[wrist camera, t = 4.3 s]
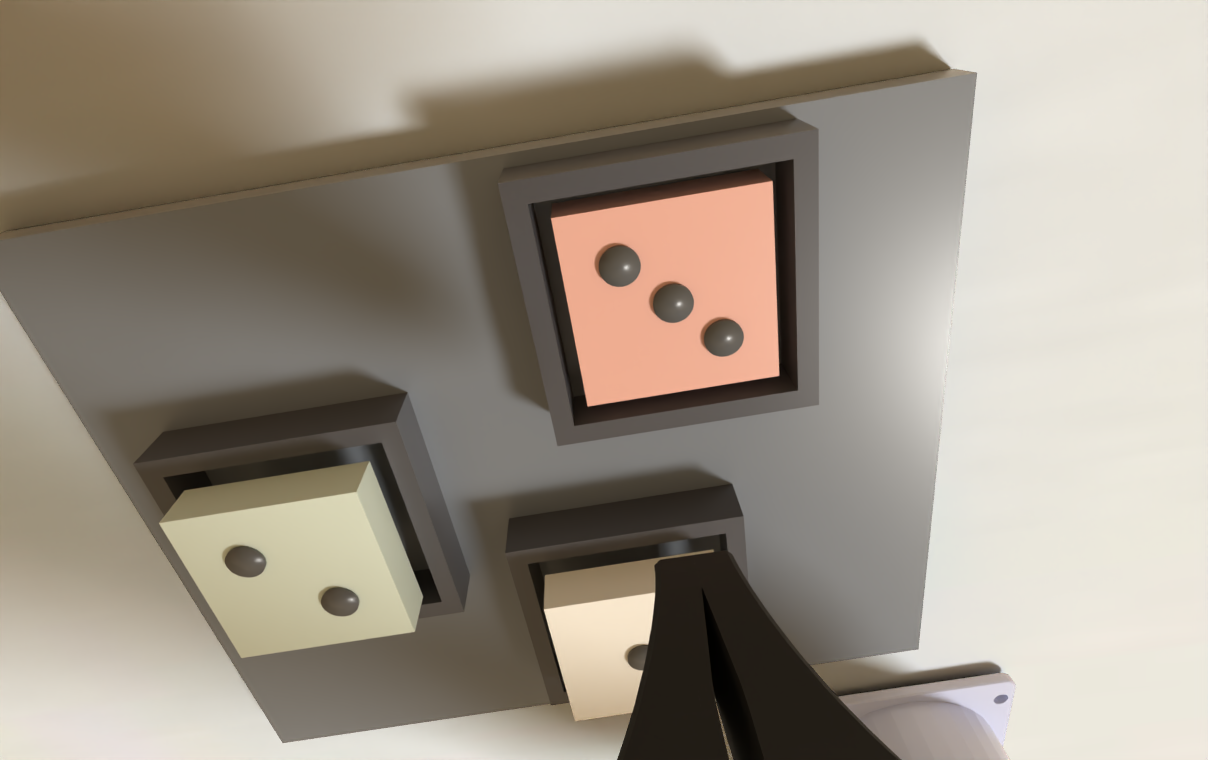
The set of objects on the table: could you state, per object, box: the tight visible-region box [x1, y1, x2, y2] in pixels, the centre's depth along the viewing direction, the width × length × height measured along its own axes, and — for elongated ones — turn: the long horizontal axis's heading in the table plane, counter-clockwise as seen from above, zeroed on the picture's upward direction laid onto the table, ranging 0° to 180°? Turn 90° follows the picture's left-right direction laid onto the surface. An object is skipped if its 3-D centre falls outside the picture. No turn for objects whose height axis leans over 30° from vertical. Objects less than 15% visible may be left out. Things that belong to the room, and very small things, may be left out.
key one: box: [544, 550, 716, 721], centre depth 19 cm, size 5×5×1 cm
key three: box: [551, 169, 779, 406], centre depth 16 cm, size 5×5×1 cm
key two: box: [159, 461, 423, 658], centre depth 17 cm, size 5×5×1 cm
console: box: [0, 69, 977, 743], centre depth 19 cm, size 18×22×2 cm
